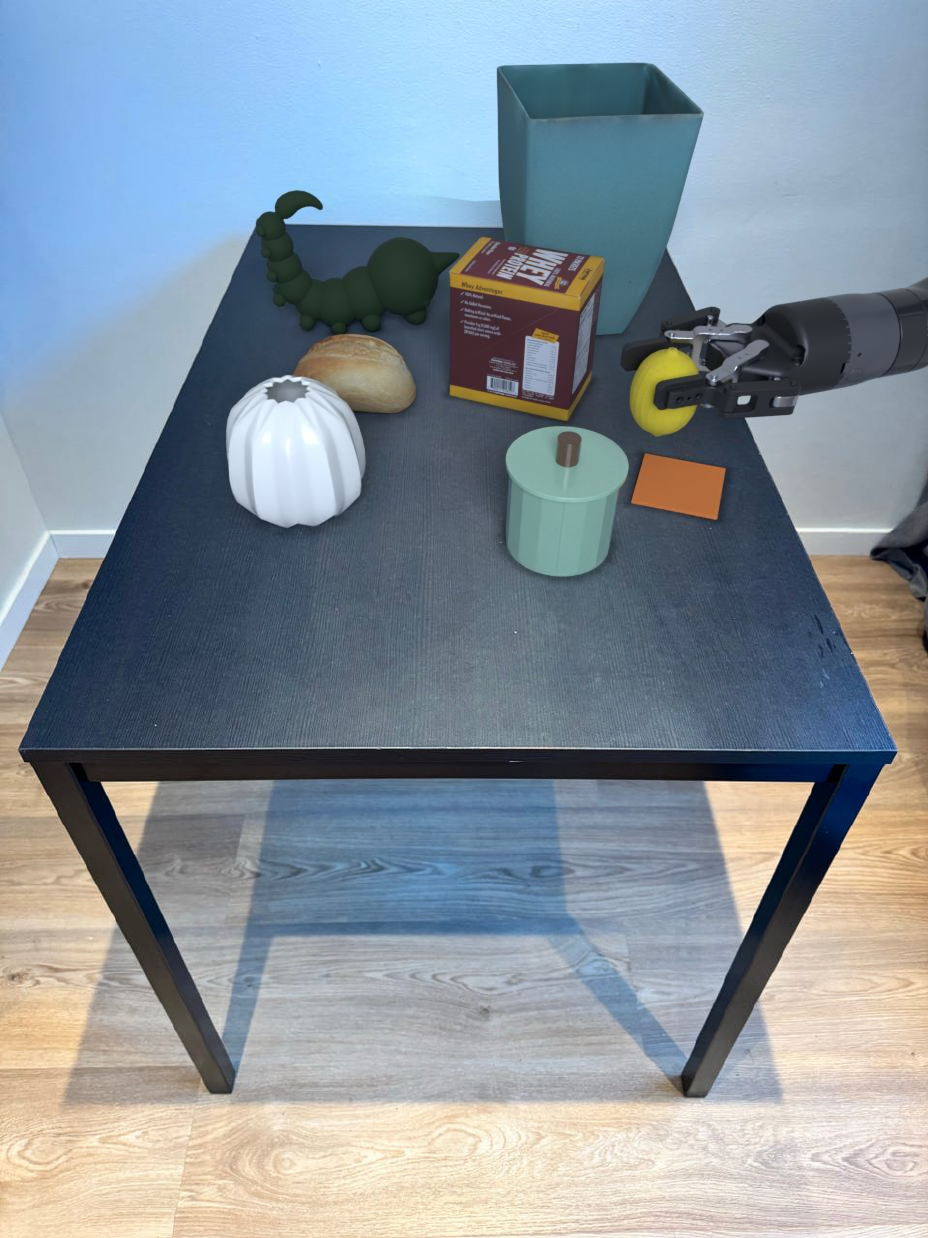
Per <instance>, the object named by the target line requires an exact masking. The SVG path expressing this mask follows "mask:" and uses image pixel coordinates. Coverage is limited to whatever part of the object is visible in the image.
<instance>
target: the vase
mask: <svg viewBox="0 0 928 1238" xmlns="http://www.w3.org/2000/svg"><path fill="white" fill-rule="evenodd" d="M225 429H226V431H225V432H226V433H225V447H226V458H227V463H228V478H229V484H230V488H231V493H232V495H233V497H234V499H235V502H236V503H238V504H239V505H240V506H242V507H243V508H245V509H246V510H247V511H249V512H251V513H252V514H253V515H255V516H256V517H257V518H259V519H260V520H262V521H266V522H268V523H270V524H273V525H276V526H278V527H281V528H285V529H288V528H289V529H290V528H292V527H293V526H296V525H304V526H309V527H317V526H320V525H321V524H322V523H324V522H326V521H327V520H329V519H331V518H332V517H339V516H340V515H342V514H343V513H344V512H345V511H346V510H347V509H348V508H349V507H350V506H351V505H352V504H353V503H354V502H355V501H356V500H357V499H358V498H359V497H360V496H361V493H362V479H363V478H364V475H365V473H366V464H367V460H366V449H365V446H364V445H365V444H364V440H363V436H362V431H361V430H360V426H359V423H358V421H357V418H356V416H355V413H354V411H352V410H351V408H350V407H349V405H348V404H347V403H346V402H345V401H344V400H342V399H341V398H340V397H339V396H338V394H337V392H336V390H335V389H333V388H331V387H329V386H328V385H326V384H323V383H321V382H319V381H316V380H313V379H310V378H307V377H303V376H300V377H297V376H294V375H292V374H284V375H282V376H280V377H271V378H267V379H265V380H263V381H262V382H260V383H258V384H257V385H255V386H253V387H252V388H250V389H249V390H248V391H247V392H246V393H245V394H244V396H243V397H242V398H240V399H239V400H238V402H236V404H234V405H233V406H232V407H231V409H230V412H229V414H228V417H227V420H226V428H225Z"/></svg>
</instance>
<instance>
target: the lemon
mask: <svg viewBox="0 0 928 1238" xmlns="http://www.w3.org/2000/svg"><path fill="white" fill-rule="evenodd" d="M685 353H686V352H684V351H681V350H680V349H678V350H677V349H676V348H674V347H671V348H669V349H663V350H659V351H657V352H654V353H652V354H651V355H649V356H648V357H647V358H646V359H644V361H643V362H642V363H641V364H640V366H639V368H638V369H637V370H635V373H634V376H633V378H632V382H631V384H630V388H629V409H630V413H631V415H632V417H633V419H634V421H635V423H636V424H637V425H638V426H639V427H640V428H641V429H642V430H644V431H645V432H647V433H649V434H651V435H653V436H654V437H661V436H667V435H670V434H675V433H676V432H678V431H680V430H681V429H683V428H684V427H685V426H686V425H687V424H688V423H689V421H690V420H691V419H692V418H693V416H694V414H695V413H696V410H697V408H698V405H693V406H688V407H686V406H685V407H683V408H681V407H680V408H677V409H665V410H658V409H657V407H656V406H655V405H654V404H653V399H654V394H655V388H656V385H657V384H658V383H659V382H660V381H662V380H668V379H673V378H679V377H685V376H690V375H696V374H700V373H699V372H700V371H698V369H697V366H696V364H695V363H694V362H693V360H692V359H691V358H690V357H689V356H688V355H686V354H685Z"/></svg>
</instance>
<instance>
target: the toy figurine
mask: <svg viewBox="0 0 928 1238" xmlns="http://www.w3.org/2000/svg"><path fill="white" fill-rule="evenodd" d="M308 207H309V208H310V207H311V208H314V209H316V210H319V211H322V210H323V209H324V204H323V203H322V201H321V200H320V199H319V198H318V197H317V196H315V195H314V194H312V193H311V192H308V191H306V190H300V189H298V190H297V189H296V190H290V191H287V192H285V193H283V194H281V195H280V196H279V197H278V198H277V199H276V201H275V204H274V211H271V210H270V211H269V210H268V211H264V212H262V213H261V214H260V216H259V217H258V218H256V220H255V225H256V228H255V233H256V235H257V236H259V237H261V240H260V246H261V250H260V254H261V256H262V257H263V259H267V260H266V267H267V270H268V271H267V274H266V278H267V281H269V282H270V283H275V282H276V283H275V284H274V285H273V286H272V288H271V289H272V292H273V294H274V295H273V297H272V301H273V304H274V305H275V306H276V307H278V308H280V307H284V306H285V305H286V303H288V304H290V305H293V306H295V309H296V310H297V312H298V313H300V315H299V324H298V325H299V326H300V327H301V328H302V329H303V330H306V331H307V330H308V331H310V330H311V329H313V328H314V326H315V321H319V320H320V321H321V322H323V324H326V325H328V326H330V329H331V332H332V333H333V335H341V334H346V332H347V331H348V327H347V326H349V325H351V324H352V323H353V322H354V321H355V320H358V321H361V325H362V327H363V328H364V329H365V330H366V331H367V332H376V331H377V330H378V329H379V328H381V322H382V317H381V316H383V314H384V313H385V312H388V313H391V314H394V315H401V316H402V315H403V316H404V319H405V321H406V322H408V323H410V324H412V325H417V326H418V325H420V324H422V323H423V322H425V320H426V318H427V313H428V310H427V307H429V306H430V305H431V301H432V299H433V298H434V296H435V294H436V292H437V289H438V284H439V277H440V276H441V274H442V273H443V272H445V270H447V269H448V268H449V267H450V266H451V265H453V264H454V263H455V262H456V261H457V260H458V259H459V258H460V257H461V254H460V253H459V252H455V251H454V252H453V251H431V250H429V249H428V248H427V247H426V246H425V245H424V244H422V243H421V242H419V241H417V240H414V239H412V238H409V237H394V238H391V239H388V240H386V241H384V242H382V243H380V245H378V246H377V247H376V248H375V249H374V251H373V252H372V253H371V255H370V257H369V259H368V261H367V264H366V265H361V266H356V267H353V268H352V269H350V270H349V271H347V272H346V273H345V274H344V275H343V277H329V278H327V279H325V280H323V281H322V280H320V279H318V278H317V279H316V278H312V276H311V275H310V273H309V272H308V271H307V270H306V269H304V268H303V264H302V260H301V258H300V256H299V255H298V254H297V253H296V252H295V251H294V250H295V249H294V248H295V247H294V242H293V241H294V240H293V238H292V236H291V235H290V234H289V232H287V229H286V228H287V225H286V222H285V220H288V219H290V218H292V217H293V216H294V215H296V213H297V212H298V211H299V210H302V209H303V208H308Z"/></svg>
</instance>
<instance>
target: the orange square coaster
mask: <svg viewBox="0 0 928 1238" xmlns="http://www.w3.org/2000/svg"><path fill="white" fill-rule="evenodd" d="M726 470H727V469H726V468H725V467H722V466H721V467H720V466H716V465H710V464H704V463H701V462H700V463H699V462H694V461H688V460H682V459H678V458H672V457H666V456H662V455H656V454H650V453H644V455H643V458H642V462H641V465H640V469H639V472H638V476H637V478H636V483H635V487H634V490H633V493H632V497H631V500H630V503H631V504H634V505H639V506H645V507H650V508H655V509H659V510H665V511H670V512H674V513H679V514H685V515H690V516H695V517H699V518H706V519H711V520H715V521H716V520H718V517H719V510H720V504H721V499H722V493H723V487H724V483H725V482H724V481H725V476H726Z"/></svg>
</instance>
